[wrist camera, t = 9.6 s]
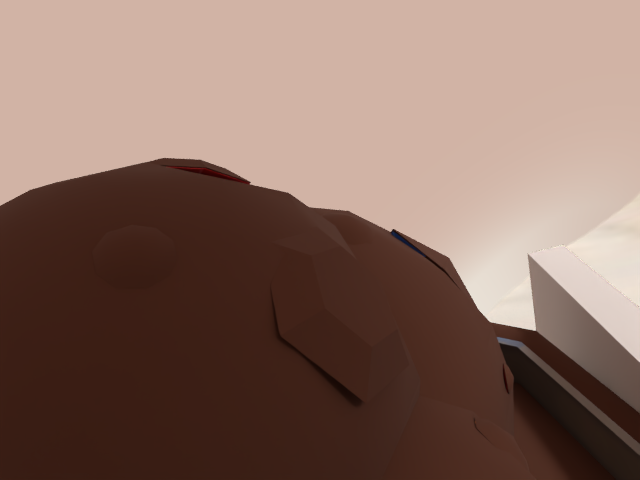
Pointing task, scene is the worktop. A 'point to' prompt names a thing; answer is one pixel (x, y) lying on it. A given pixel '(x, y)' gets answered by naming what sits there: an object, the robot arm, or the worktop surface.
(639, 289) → the worktop surface
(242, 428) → the ice cream bowl
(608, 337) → the robot arm
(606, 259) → the worktop surface
